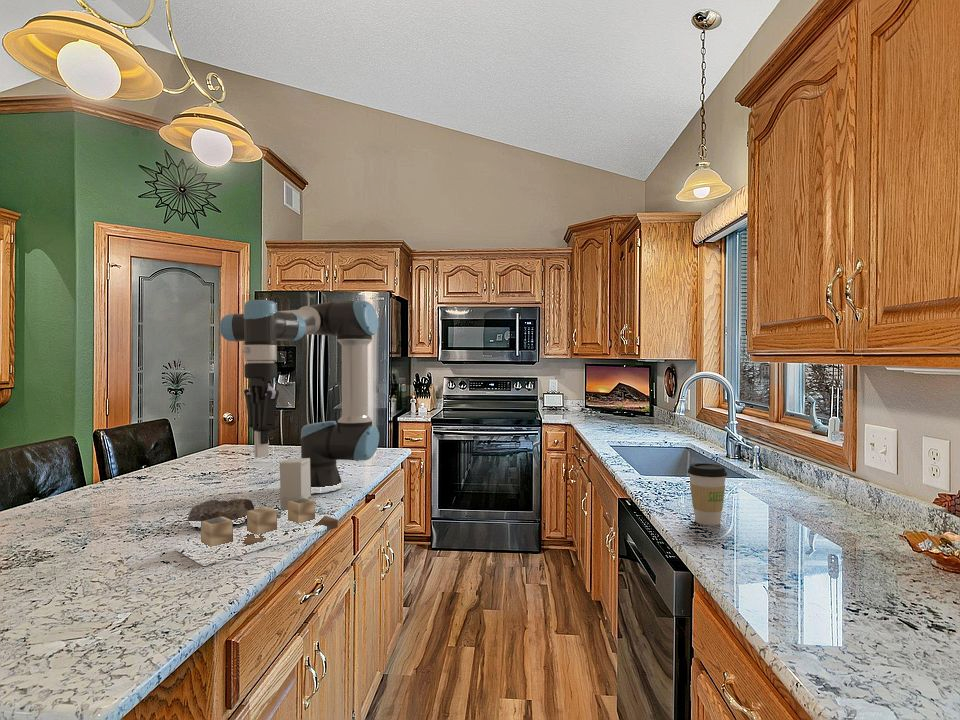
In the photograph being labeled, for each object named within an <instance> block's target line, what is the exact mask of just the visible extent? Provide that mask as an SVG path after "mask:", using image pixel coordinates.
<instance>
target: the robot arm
mask: <svg viewBox="0 0 960 720" xmlns="http://www.w3.org/2000/svg"><path fill="white" fill-rule="evenodd" d="M379 324H380V323H379V317H378V313H377V311H376V309H375V307H374V305H373V304H372V303H370V302H369V301H368V300H367V301H366V300H347V301H345V300H344V301H326V302H322V303H317V304H312V305H311V304H310V305H305V306H302V307H300V308H298V309H291V310H278V309H277V304H276V302H275V301H273V300H265V299H250V300H249V299H248V300H247V301H246V302H245V303H244V310H243V313H230V314H225V315H224V316H222V318H221V320H220V322H219V332H220V335H221V336H222V338H223V339H224V340H226V341H228V342H237V343H238V342H244V346H243V347H244V348H243V349H242V351H243V353H244V361H245V362H246V363H244V366H243V371H244V372H243V373H244V378H245V379H250V380H249V387H248V389H247V388H246V389H243V395H244V398H245V401H246V404H245V405H246V410H247V411H246V412H247V420H248V427H249V428H251V429H252V431H253V440H254V441H253V442H254V443H253V444H254V446H253V448H254V450H253V451H254V452H253V453H254V455H253V457H254V458H258V459H259V458H260V459H261V458H266V457H269V432H270V430H272V429H274V428H275V419H276V410H277V402H278V401H277V400H278V398H279V395H280V394H279V390H275V389H274V388H273V387H274V384H273V380H272V379H274V378H277V376H278V364H277V363H276V361H278V344H277V341H287V342H293V341H298V340H301V339H302V338H303V337H304V335H306V336H307V335H308V336H311V335H318V336H336V341H337V342H338V344H340V345H341V416H340V418H339V419H338V420H337V422H336V420H328V421H321V422H320V421H319V422H313V423H308V424H305V425H302V428H301V432H300V454H301V455H300V458H310V482H311V487H325V486H333V485H337V484H339V483H341V482H343V481H342V478H341V475H340V473H339V470H338V467H337V461H342V460H343V461H355V462H359V461H369V460H371V458H373V456H374V455H375V454H376V452H377V449H378V447H379V442H380V432H379V429H378V427H377V426H375V425H373V418H371V417H370V415H369V409H368V408H369V404H368V403H369V401H368V400H369V397H368V395H369V388H368V387H369V385H368V383H369V381H368V379H369V377H368V376H369V375H368V367H369V366H368V365H369V364H368V346H369V344H370V343H371V342H372V341H373V336H374V335H376V334H377V333H378V330H379Z"/></svg>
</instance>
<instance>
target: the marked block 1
mask: <svg viewBox="0 0 960 720" xmlns="http://www.w3.org/2000/svg"><path fill="white" fill-rule="evenodd" d="M233 526H234V525H233V522H232V520H230V519H228V518H225V517H219V518H214V519H210V520H206V521H201V528H200V536H201V542H202V543H204V544H206V545H208V546H210V547H212V546H217V545H220V544H225V543H229V542H233V528H234V527H233Z"/></svg>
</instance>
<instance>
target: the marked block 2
mask: <svg viewBox="0 0 960 720" xmlns="http://www.w3.org/2000/svg"><path fill="white" fill-rule="evenodd" d="M315 513H316V500H314V499H312V498H311V499H308V498H301V499H296V500H292V501H288V520H290V521H293V522H296V523H298V524H299V523H303V522H306V521H310V520H313V519H315Z"/></svg>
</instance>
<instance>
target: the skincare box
mask: <svg viewBox="0 0 960 720" xmlns="http://www.w3.org/2000/svg"><path fill="white" fill-rule="evenodd" d="M279 483H280V484H279V485H280V486H279V488H280V490H279V491H280V492H279V493H280V494H279V495H280V496H279V497H280V511H281V510H288V501H292V500H296V499H301V498H308V499H312V496H311V495H312V494H311V482H310V458H301V457H300V458H289V459H286V460H282V461H281V462H279Z"/></svg>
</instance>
